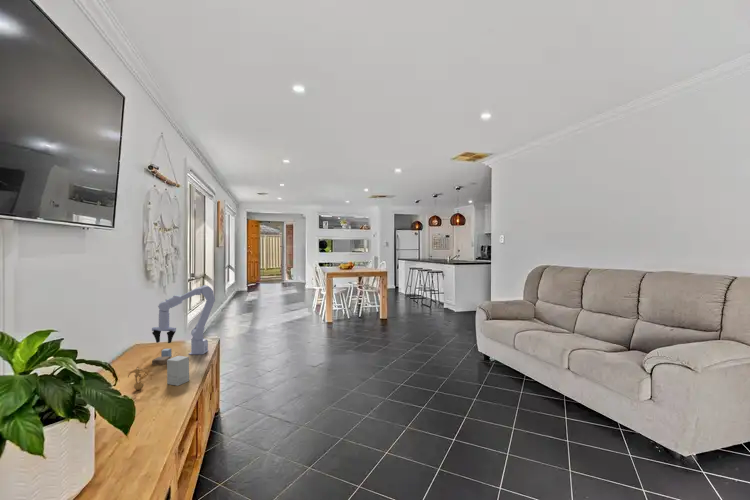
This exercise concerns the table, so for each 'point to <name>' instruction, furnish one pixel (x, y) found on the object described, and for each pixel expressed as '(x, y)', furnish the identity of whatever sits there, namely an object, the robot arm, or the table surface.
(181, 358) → the supplement box
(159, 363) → the walnut pedestal
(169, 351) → the blue block
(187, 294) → the robot arm
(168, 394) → the table surface
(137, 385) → the figurine
